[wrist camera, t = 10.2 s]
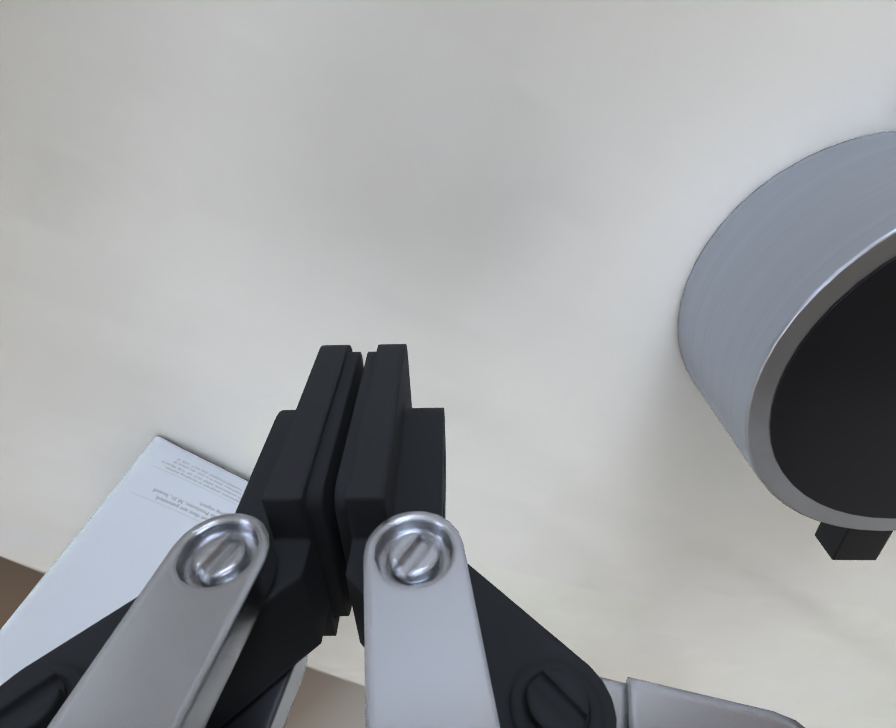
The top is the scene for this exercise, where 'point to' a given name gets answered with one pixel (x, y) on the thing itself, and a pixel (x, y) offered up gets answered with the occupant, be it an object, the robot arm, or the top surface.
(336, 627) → the robot arm
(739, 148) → the top surface
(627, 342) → the top surface
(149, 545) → the white product box
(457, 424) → the top surface
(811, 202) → the pot
